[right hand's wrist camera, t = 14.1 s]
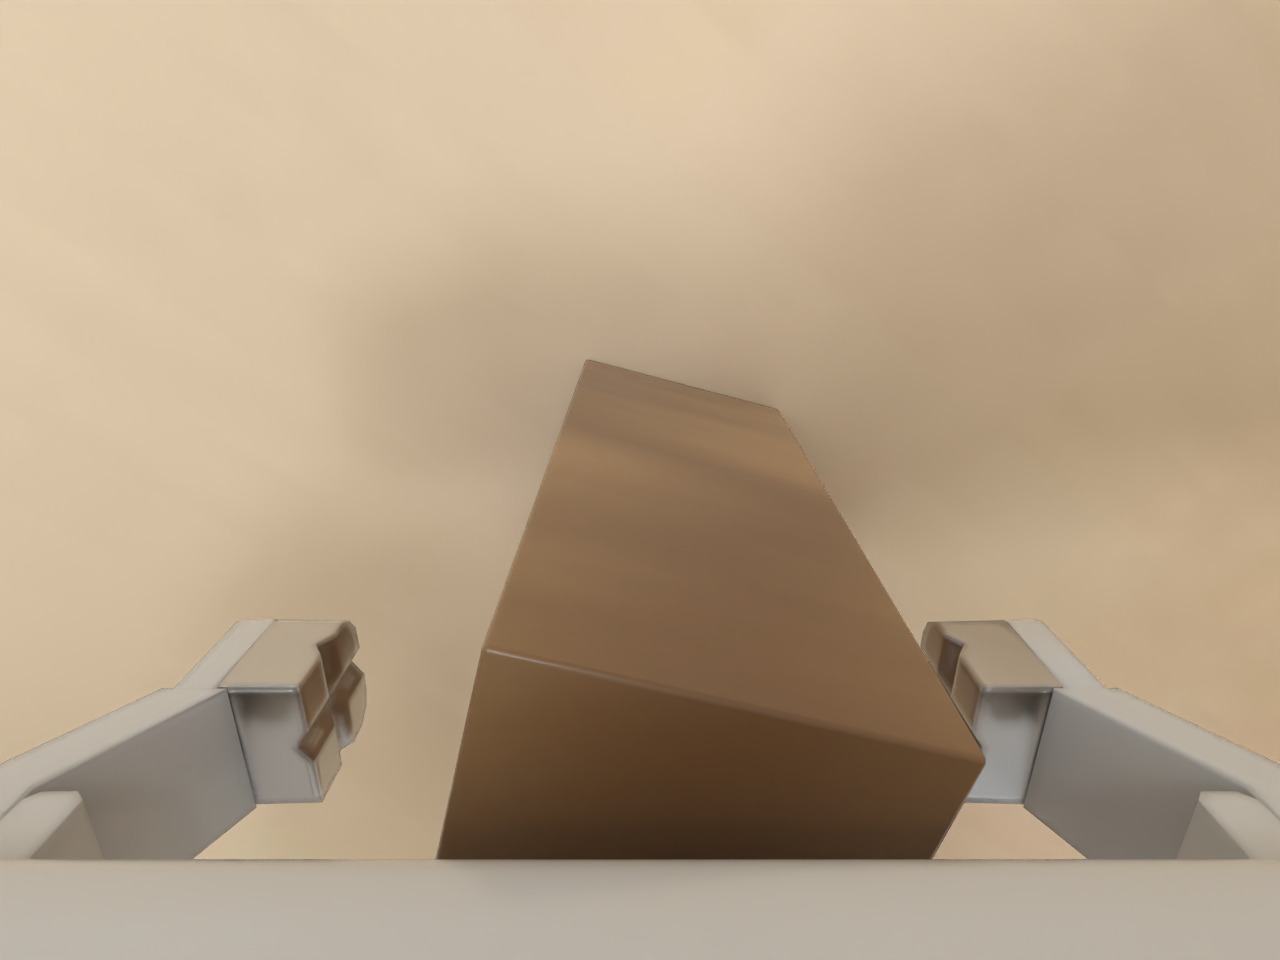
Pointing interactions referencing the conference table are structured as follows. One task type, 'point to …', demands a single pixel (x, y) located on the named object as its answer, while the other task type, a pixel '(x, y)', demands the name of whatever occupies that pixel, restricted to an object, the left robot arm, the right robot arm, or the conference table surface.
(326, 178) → the conference table surface
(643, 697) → the brick
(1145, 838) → the right robot arm
